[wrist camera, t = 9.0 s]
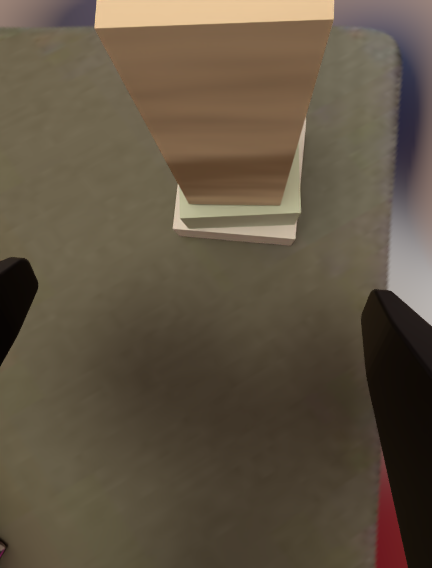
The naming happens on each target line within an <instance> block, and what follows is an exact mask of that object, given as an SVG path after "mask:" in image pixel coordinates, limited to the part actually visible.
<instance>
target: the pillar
mask: <svg viewBox="0 0 432 568" xmlns="http://www.w3.org/2000/svg"><path fill="white" fill-rule="evenodd" d="M96 5H97V6H96V17H95V30H96V32H97V34H98V36H99V38H100V40H101V41H102V43H103V45H104V47H105V49H106V51H107V53H108V54H109V56H110V58H111V60H112V62H113V64H114V66H115V67H116V69H117V71H118V73H119V75H120V77H121V79H122V80H123V82H124V84H125V86H126V88H127V90H128V92H129V94H130V95H131V97H132V99H133V101H134V103H135V105H136V107H137V108H138V110H139V112H140V114H141V116H142V118H143V120H144V121H145V123H146V125H147V127H148V129H149V131H150V133H151V134H152V136H153V138H154V140H155V142H156V144H157V146H158V147H159V149H160V151H161V153H162V155H163V157H164V159H165V161H166V162H167V164H168V166H169V168H170V170H171V172H172V174H173V175H174V177H175V179H176V181H177V183H178V185H179V187H180V188H181V190H182V192H183V194H184V196H185V198H186V200H187V201H188V203H189V204H213V205H280V204H281V201H282V197H283V194H284V191H285V187H286V184H287V180H288V177H289V173H290V170H291V166H292V163H293V159H294V156H295V152H296V149H297V145H298V142H299V138H300V135H301V131H302V128H303V124H304V121H305V117H306V114H307V111H308V107H309V104H310V100H311V97H312V93H313V90H314V86H315V83H316V79H317V76H318V72H319V69H320V65H321V62H322V58H323V55H324V51H325V48H326V44H327V41H328V37H329V34H330V31H331V27H332V24H333V20H334V0H97V4H96Z"/></svg>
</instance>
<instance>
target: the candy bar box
mask: <svg viewBox="0 0 432 568" xmlns="http://www.w3.org/2000/svg"><path fill="white" fill-rule="evenodd" d="M5 548H6V547H5V545H4V544H3V543H1V542H0V557H1V555H2V554H3V552H4V550H5Z"/></svg>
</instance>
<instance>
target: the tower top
mask: <svg viewBox="0 0 432 568" xmlns="http://www.w3.org/2000/svg"><path fill="white" fill-rule="evenodd" d="M179 196H180V219H181V220H182V222H183V223H184V224H185V225H186V226H187V228H188V229H204V228H229V227H254V226H277V225H295V223H296V221H297V219H298V217H299V216H300V214H301V199H300V171H299V142H298V145H297V149H296V152H295V156H294V159H293V163H292V166H291V170H290V173H289V177H288V180H287V184H286V187H285V191H284V194H283V197H282V201H281V204H280V205H213V204H189V203H188V201H187V200H186V198H185V196H184V194H183V192H182V190H181V188H180V187H179Z"/></svg>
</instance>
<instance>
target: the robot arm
mask: <svg viewBox="0 0 432 568" xmlns="http://www.w3.org/2000/svg"><path fill="white" fill-rule="evenodd" d="M37 290H38V281H37V278H36V276H35V274H34V271H33V269H32V267H31V265H30V263H29V261H28V260H27V259H25V258H17V257H10V258H7V259H5V260H3V261H0V366H1V364H2V362H3V361H4V359H5V357H6V355H7V354H8V352H9V350H10V348H11V347H12V345H13V343H14V341H15V339H16V337H17V335H18V333H19V331H20V329H21V327H22V325H23V322H24V320H25V318H26V315H27V313H28V311H29V309H30V306H31V304H32V302H33V299H34V297H35V295H36V292H37ZM361 325H362V336H363V347H364V358H365V369H366V377H367V382H368V387H369V392H370V396H371V401H372V405H373V410H374V414H375V419H376V424H377V428H378V433H379V437H380V442H381V446H382V451H383V455H384V460H385V465H386V469H387V473H388V478H389V483H390V487H391V492H392V496H393V501H394V505H395V510H396V514H397V519H398V524H399V528H400V533H401V538H402V542H403V547H404V551H405V556H406V560H407V565H408V568H432V326H431V325H430V324H428V323H427V322H426V321H425V320H424V319H423V318H422V317H420V316H419V315H418V314H417V313H416V312H415V311H414V310H412V309H411V308H410V307H409V306H408V305H407V304H406V303H404V302H403V301H402V300H401V299H400V298H399V297H398V296H396V295H395V294H394V293H393V292H392V291H389V290H379V289H374V290H372V291H371V293H370V295H369V297H368V300H367V302H366V305H365V307H364V310H363V312H362V316H361Z"/></svg>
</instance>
